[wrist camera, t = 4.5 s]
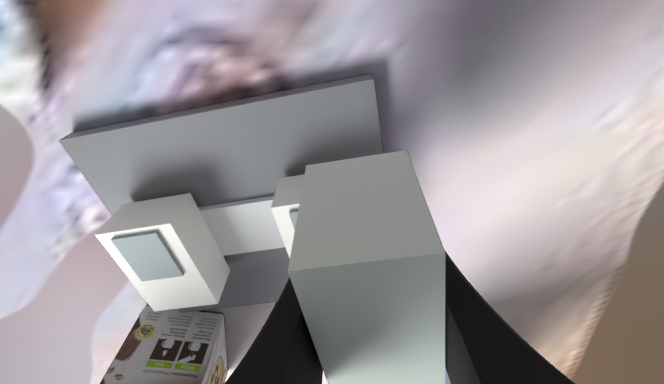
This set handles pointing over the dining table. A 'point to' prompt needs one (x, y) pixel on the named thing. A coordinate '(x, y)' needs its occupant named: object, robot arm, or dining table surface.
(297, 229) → the block
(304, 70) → the dining table surface
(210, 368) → the coffee box
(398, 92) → the dining table surface
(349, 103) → the board
